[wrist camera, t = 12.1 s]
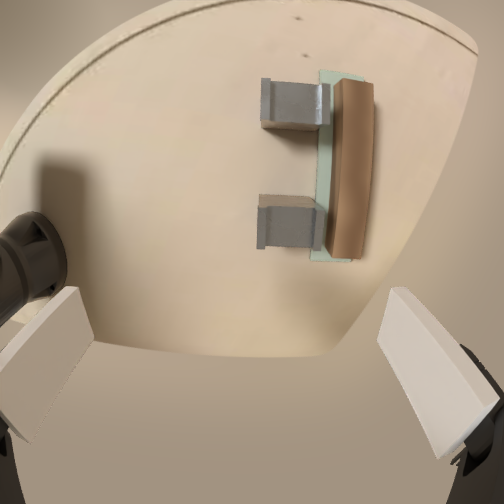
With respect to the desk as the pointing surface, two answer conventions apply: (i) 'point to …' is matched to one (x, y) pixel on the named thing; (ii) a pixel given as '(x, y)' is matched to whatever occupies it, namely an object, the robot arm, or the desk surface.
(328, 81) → the mat
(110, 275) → the desk surface
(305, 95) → the cradle posts
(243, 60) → the desk surface
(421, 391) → the robot arm
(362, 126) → the rail
